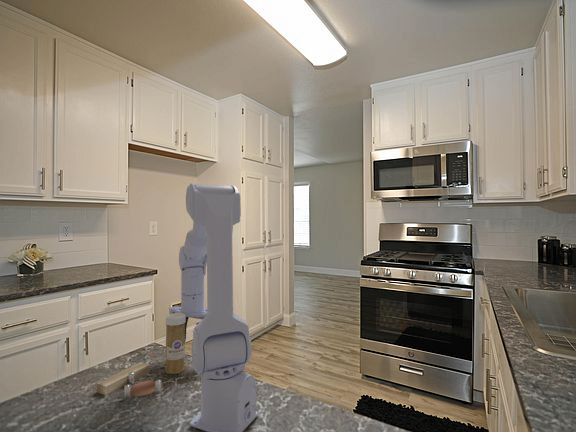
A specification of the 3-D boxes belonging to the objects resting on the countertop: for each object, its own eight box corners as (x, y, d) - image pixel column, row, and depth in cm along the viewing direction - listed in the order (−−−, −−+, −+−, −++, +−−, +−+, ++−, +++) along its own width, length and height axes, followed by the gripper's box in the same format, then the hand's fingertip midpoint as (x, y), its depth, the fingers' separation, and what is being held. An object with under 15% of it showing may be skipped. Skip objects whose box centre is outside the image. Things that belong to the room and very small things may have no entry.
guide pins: (162, 392, 66) (162, 380, 66) (141, 405, 62) (141, 392, 62) (131, 382, 70) (131, 371, 70) (109, 394, 66) (109, 382, 66)
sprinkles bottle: (170, 377, 73) (170, 319, 73) (162, 370, 76) (162, 314, 76) (188, 370, 76) (189, 314, 76) (180, 364, 79) (180, 311, 79)
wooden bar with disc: (173, 379, 72) (174, 370, 72) (131, 405, 62) (131, 395, 62) (140, 370, 76) (140, 362, 76) (96, 392, 66) (96, 383, 66)
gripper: (224, 292, 82) (224, 344, 82) (182, 287, 88) (182, 336, 88) (207, 298, 76) (207, 355, 76) (163, 292, 82) (162, 345, 82)
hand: (192, 345), depth 81 cm, fingers open, 7 cm apart
